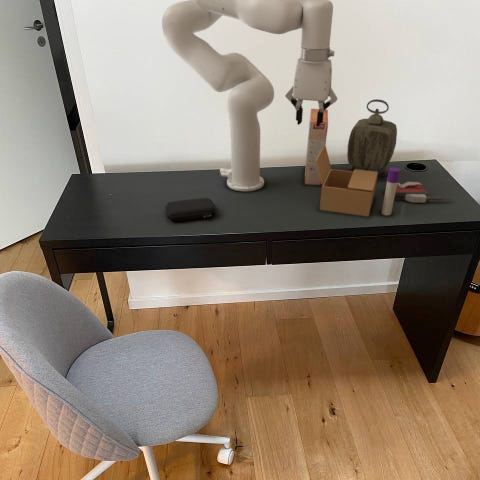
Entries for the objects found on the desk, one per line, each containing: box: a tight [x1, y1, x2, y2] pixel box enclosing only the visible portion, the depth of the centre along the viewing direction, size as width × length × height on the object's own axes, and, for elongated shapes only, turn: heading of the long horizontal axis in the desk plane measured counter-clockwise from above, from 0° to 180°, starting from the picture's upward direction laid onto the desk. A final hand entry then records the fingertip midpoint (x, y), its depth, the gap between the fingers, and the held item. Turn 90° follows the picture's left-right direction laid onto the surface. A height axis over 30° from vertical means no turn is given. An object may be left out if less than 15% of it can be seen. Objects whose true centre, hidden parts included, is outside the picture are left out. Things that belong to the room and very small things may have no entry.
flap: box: [315, 144, 332, 185], centre depth 150 cm, size 7×14×1 cm
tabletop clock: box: [346, 99, 398, 176], centre depth 164 cm, size 14×9×25 cm, turn 66°
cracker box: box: [304, 108, 329, 186], centre depth 165 cm, size 14×6×21 cm, turn 173°
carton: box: [319, 168, 379, 217], centre depth 152 cm, size 15×14×9 cm
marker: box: [381, 166, 401, 216], centre depth 146 cm, size 3×3×14 cm
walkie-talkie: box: [394, 181, 452, 204], centre depth 157 cm, size 9×4×20 cm
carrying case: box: [164, 197, 217, 222], centre depth 150 cm, size 11×3×15 cm
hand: (309, 123), depth 144 cm, fingers open, 5 cm apart
